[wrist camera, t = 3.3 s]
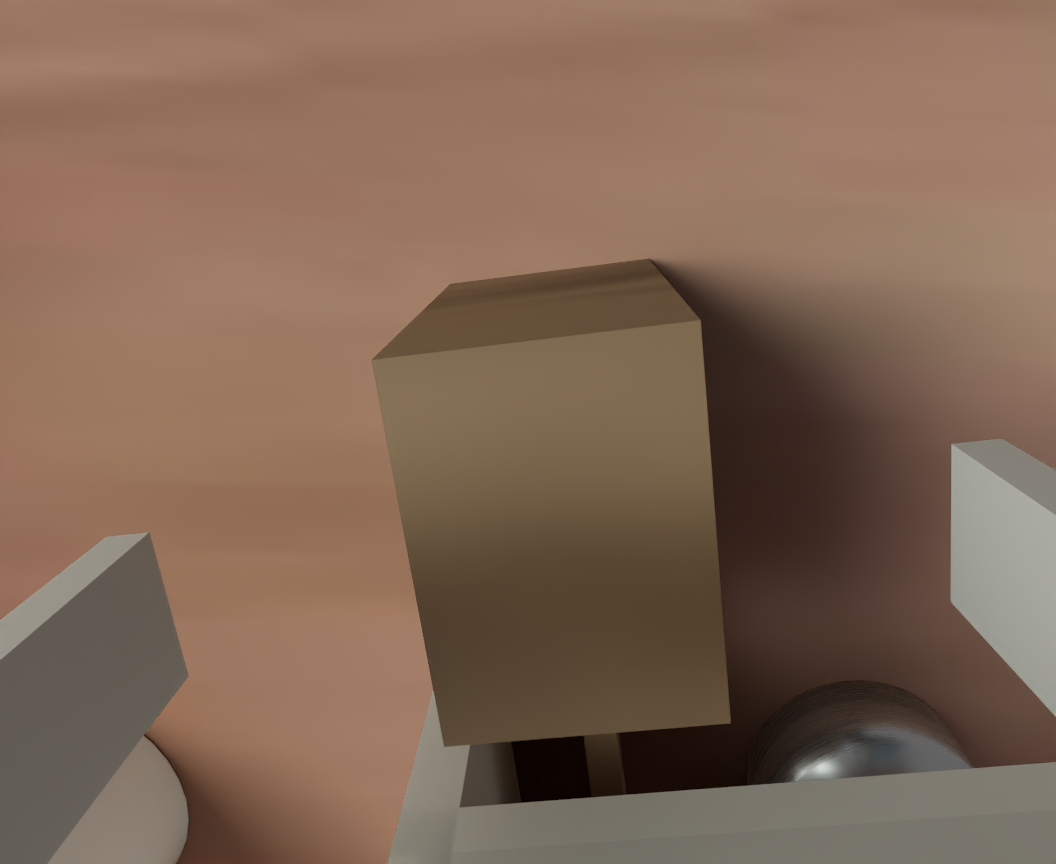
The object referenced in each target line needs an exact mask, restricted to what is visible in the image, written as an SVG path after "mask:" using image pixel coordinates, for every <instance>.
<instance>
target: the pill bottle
mask: <svg viewBox="0 0 1056 864" xmlns="http://www.w3.org/2000/svg"><path fill="white" fill-rule="evenodd" d="M188 825H189V816H188V808H187V800H186V797H185V794H184V792H183V789H182V786H181V783H180V780H179V778H178V777H177V775H176V773H175V772H174V770H173V768H172V767H171V765H170V763H169V762H168V760H167V759H166V758H165V757H164V756H163V754H162V753H161V752H160V751H159V750H158V749H157V748H156V746H155V745H154V744H153V743H152V742H151V741H150V740H148V739H147V738H146V737H145V736H143V737H142V738H141V740H140V741H139V742H138V744H137V745H136V746H135V748H134V749H133V750H132V752H131V753H130V754H129V756H128V757H127V758H126V760H125V761H124V762H123V764H122V765H121V766H120V768H119V769H118V770H117V772H116V773H115V774H114V776H113V777H112V778H111V780H110V781H109V782H108V784H107V785H106V786H105V788H104V789H103V790H102V791H101V793H100V794H99V795H98V797H97V798H96V799H95V801H94V802H93V803H92V805H91V806H90V807H89V809H88V810H87V811H86V813H85V814H84V815H83V817H82V818H81V819H80V821H79V822H78V823H77V825H76V826H75V827H74V829H73V830H72V831H71V833H70V834H69V835H68V837H67V838H66V839H65V841H64V842H63V843H62V845H61V846H60V847H59V849H58V850H57V851H56V853H55V854H54V855H53V857H52V858H51V859H50V861H49V862H48V863H47V864H177V862H178V860H179V858H180V856H181V853H182V851H183V848H184V846H185V843H186V840H187V834H188Z"/></svg>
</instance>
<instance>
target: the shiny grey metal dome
mask: <svg viewBox="0 0 1056 864" xmlns="http://www.w3.org/2000/svg"><path fill="white" fill-rule="evenodd" d="M971 768H974V767H973V766H972V764H971V763H970V761H969V760H968V758H967V757H966V755H965V754H964V752H963V751H962V749H961V748H960V746H959V745H958V743H957V742H956V740H955V739H954V737H953V736H952V734H951V733H950V731H949V730H948V728H947V727H946V725H945V724H944V722H943V721H942V719H941V718H940V717H939V716H938V714H937V713H936V712H935V711H934V710H933V709H932V708H931V707H930V706H929V705H928V704H926V703H925V702H924V701H923V700H921V699H920V698H918V697H916V696H915V695H913V694H911V693H909V692H907V691H905V690H903V689H901V688H898V687H895V686H892V685H888V684H884V683H879V682H871V681H844V682H837V683H831V684H828V685H824V686H820V687H817V688H814V689H812V690H809V691H806V692H805V693H803V694H801V695H799V696H797V697H795V698H793V699H792V700H790V701H789V702H787V703H786V704H784V705H783V706H782V707H780V708H779V709H778V710H777V711H776V712H775V713H774V714H773V715H772V716H771V717H770V718H769V719H768V720H767V721H766V722H765V723H764V725H763V726H762V728H761V729H760V731H759V732H758V734H757V736H756V738H755V740H754V742H753V744H752V747H751V750H750V753H749V756H748V762H747V783H748V786H749V785H762V784H775V783H788V782H801V781H814V780H827V779H840V778H853V777H866V776H879V775H893V774H906V773H919V772H932V771H945V770H958V769H971Z"/></svg>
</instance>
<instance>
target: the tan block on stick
mask: <svg viewBox="0 0 1056 864" xmlns="http://www.w3.org/2000/svg"><path fill="white" fill-rule="evenodd" d="M372 364H373V370H374V375H375V381H376V386H377V391H378V397H379V402H380V407H381V413H382V418H383V423H384V429H385V434H386V439H387V445H388V450H389V455H390V461H391V466H392V471H393V477H394V482H395V487H396V493H397V498H398V503H399V509H400V514H401V519H402V525H403V530H404V536H405V541H406V546H407V552H408V557H409V562H410V568H411V573H412V578H413V584H414V589H415V594H416V600H417V605H418V610H419V616H420V621H421V626H422V632H423V637H424V642H425V648H426V653H427V658H428V664H429V669H430V674H431V680H432V685H433V691H434V696H435V701H436V707H437V712H438V717H439V723H440V728H441V733H442V739H443V744H444V747H449V746H461V745H474V744H486V743H498V742H510V741H522V740H534V739H547V738H559V737H571V736H583V735H584V743H585V751H586V758H587V766H588V773H589V781H590V788H591V796H592V797H605V796H618V795H626V787H625V779H624V770H623V762H622V753H621V745H620V736H619V733H620V732H632V731H644V730H656V729H668V728H681V727H693V726H705V725H717V724H729V723H731V719H730V706H729V692H728V679H727V666H726V652H725V639H724V626H723V612H722V599H721V585H720V572H719V559H718V545H717V532H716V519H715V505H714V492H713V478H712V465H711V452H710V438H709V425H708V412H707V398H706V385H705V372H704V358H703V345H702V331H701V320H700V319H699V318H698V316H697V315H696V314H695V313H694V312H693V310H692V309H691V308H690V307H689V306H688V305H687V303H686V302H685V301H684V300H683V299H682V297H681V296H680V295H679V294H678V293H677V292H676V290H675V289H674V288H673V287H672V286H671V284H670V283H669V282H668V281H667V280H666V279H665V277H664V276H663V275H662V274H661V273H660V272H659V270H658V269H657V268H656V267H655V266H654V264H653V263H652V262H651V261H650V260H649V259H643V260H635V261H627V262H620V263H612V264H604V265H596V266H588V267H580V268H573V269H565V270H557V271H549V272H541V273H533V274H526V275H518V276H510V277H502V278H494V279H487V280H479V281H471V282H463V283H455V284H450V285H449V286H448V287H447V288H446V289H445V290H444V291H443V292H442V293H441V294H440V295H438V296H437V297H436V298H435V299H434V300H433V301H432V302H431V303H430V304H429V305H428V306H427V307H426V308H425V309H424V310H423V311H422V312H421V313H420V314H419V315H418V316H417V317H416V318H415V319H414V320H413V321H412V322H410V323H409V324H408V325H407V326H406V327H405V328H404V329H403V330H402V331H401V332H400V333H399V334H398V335H397V336H396V337H395V338H394V339H393V340H392V341H391V342H390V343H389V344H388V345H387V346H386V347H385V348H384V349H382V350H381V351H380V352H379V353H378V354H377V355H376V356H375V357H374V358H373V359H372Z"/></svg>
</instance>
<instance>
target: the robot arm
mask: <svg viewBox="0 0 1056 864" xmlns="http://www.w3.org/2000/svg"><path fill="white" fill-rule="evenodd" d="M951 603H952V604H953V605H954V606H955V607H956V608H957V609H958V610H959V612H960V613H961V614H962V615H963V616H964V617H965V618H966V619H967V620H968V621H969V623H970V624H971V625H972V626H973V627H974V628H975V629H976V630H977V631H978V632H979V633H980V635H981V636H982V637H983V638H984V639H985V640H986V641H987V642H988V643H989V644H990V645H991V647H992V648H993V649H994V650H995V651H996V652H997V653H998V654H999V655H1000V656H1001V657H1002V659H1003V660H1004V661H1005V662H1006V663H1007V664H1008V665H1009V666H1010V667H1011V668H1012V670H1013V671H1014V672H1015V673H1016V674H1017V675H1018V676H1019V677H1020V678H1021V679H1022V680H1023V682H1024V683H1025V684H1026V685H1027V686H1028V687H1029V688H1030V689H1031V690H1032V691H1033V692H1034V694H1035V695H1036V696H1037V697H1038V698H1039V699H1040V700H1041V701H1042V702H1043V703H1044V705H1045V706H1046V707H1047V708H1048V709H1049V710H1050V711H1051V712H1052V713H1053V714H1054V715H1055V717H1056V470H1054V469H1052V468H1051V467H1049V466H1047V465H1046V464H1044V463H1042V462H1041V461H1039V460H1037V459H1036V458H1034V457H1032V456H1031V455H1029V454H1027V453H1026V452H1024V451H1022V450H1020V449H1019V448H1017V447H1015V446H1014V445H1012V444H1010V443H1009V442H1007V441H1005V440H1004V439H1002V438H1001V439H992V440H983V441H974V442H964V443H955V444H951ZM187 677H188V672H187V669H186V665H185V661H184V658H183V654H182V650H181V647H180V643H179V639H178V636H177V632H176V628H175V625H174V621H173V617H172V614H171V610H170V606H169V603H168V599H167V595H166V592H165V588H164V584H163V581H162V577H161V573H160V570H159V566H158V562H157V559H156V555H155V551H154V548H153V544H152V540H151V537H150V533H149V532H147V533H138V534H129V535H120V536H111V537H105V538H104V539H103V540H101V541H100V542H99V543H98V544H96V545H95V546H94V547H93V548H91V549H90V550H89V551H87V552H86V553H85V554H84V555H82V556H81V557H80V558H79V559H77V560H76V561H75V562H73V563H72V564H71V565H70V566H68V567H67V568H66V569H65V570H63V571H62V572H61V573H59V574H58V575H57V576H56V577H54V578H53V579H52V580H51V581H49V582H48V583H47V584H45V585H44V586H43V587H42V588H40V589H39V590H38V591H37V592H35V593H34V594H33V595H32V596H30V597H29V598H28V599H26V600H25V601H24V602H23V603H21V604H20V605H19V606H18V607H16V608H15V609H14V610H12V611H11V612H10V613H9V614H7V615H6V616H5V617H4V618H2V619H1V620H0V864H47V863H48V862H49V861H50V859H51V858H52V857H53V855H54V854H55V853H56V851H57V850H58V849H59V847H60V846H61V845H62V843H63V842H64V841H65V839H66V838H67V837H68V835H69V834H70V833H71V831H72V830H73V829H74V827H75V826H76V825H77V823H78V822H79V821H80V819H81V818H82V817H83V815H84V814H85V813H86V811H87V810H88V809H89V807H90V806H91V805H92V803H93V802H94V801H95V799H96V798H97V797H98V795H99V794H100V793H101V791H102V790H103V789H104V788H105V786H106V785H107V784H108V782H109V781H110V780H111V778H112V777H113V776H114V774H115V773H116V772H117V770H118V769H119V768H120V766H121V765H122V764H123V762H124V761H125V760H126V758H127V757H128V756H129V754H130V753H131V752H132V750H133V749H134V748H135V746H136V745H137V744H138V742H139V741H140V740H141V738H142V737H143V736H144V734H145V733H146V732H147V730H148V729H149V728H150V726H151V725H152V724H153V722H154V721H155V720H156V718H157V717H158V716H159V714H160V713H161V712H162V710H163V709H164V708H165V706H166V705H167V704H168V702H169V701H170V700H171V698H172V697H173V696H174V694H175V693H176V692H177V690H178V689H179V688H180V686H181V685H182V684H183V682H184V681H185V680H186V678H187Z"/></svg>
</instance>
